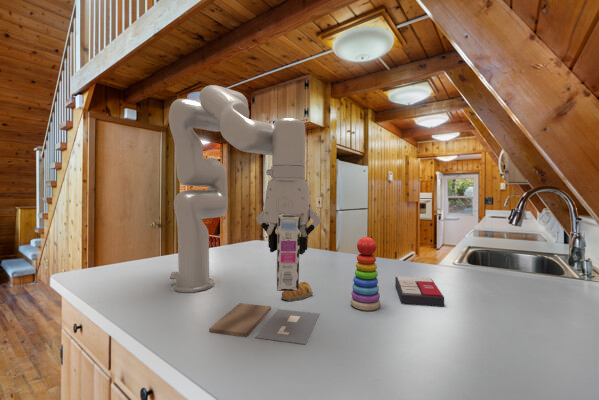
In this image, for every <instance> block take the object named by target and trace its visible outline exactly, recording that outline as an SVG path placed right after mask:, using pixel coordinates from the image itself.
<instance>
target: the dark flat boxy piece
mask: <svg viewBox="0 0 599 400" xmlns="http://www.w3.org/2000/svg"><path fill="white" fill-rule="evenodd" d="M394 281H395V282H394V284H395V285H394V287H395V290H396V293H397V295H398V300H400V301H399V302H400V305H407V306H408V305H409V306H410V305H411V306H421V307H422V306H423V307H424V306H425V307H438V308H439V307H440V308H444V307H445V296H444V295H443V293H442V292H441V290H440V289H439V288H438V286H437V285H436V283H435V282H434V280H433V279H432V278H431V277H421V276H420V277H419V276H399V275H398V276H395V280H394Z"/></svg>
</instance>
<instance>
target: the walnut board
mask: <svg viewBox="0 0 599 400" xmlns="http://www.w3.org/2000/svg"><path fill="white" fill-rule="evenodd" d="M271 310H272V306H271V305H261V304H252V303H241V302H240V303H238V304H236V306H235V307H233V308H232V309H231V310H229V311H228V312H226V314H224V315H223V317H221V318H220V319H219V320H217V321H216V322H215V323H214V324H213V325H212V326H210V327H209V329H208V332H209V333H213V334H219V335H220V334H221V335H228V336H237V337H242V338H243V337H245V338H247V337H248V336H249V335H250V334H251V333H252V331H253V330H254V329H255V328H256V327H257V326H258V325H259V324H260V323H261V321H262V320H263V319H264V318H265V317H266V315H267V314H268V313H269V312H270V311H271Z"/></svg>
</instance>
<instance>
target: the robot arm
mask: <svg viewBox="0 0 599 400" xmlns="http://www.w3.org/2000/svg"><path fill="white" fill-rule="evenodd" d="M248 102H249V101H248V99H247V97H246V96H245V95H244V94H243V93H242V92H239V91H237V90H233V89H230V88H227V87H223V86H219V85H216V84H209V85H207V86H205V87H203V88H202V89H201V90H200V92H199V95H198V100H196V99H191V98H177V99H176V100H175V99H174V100H173V102H172V103H171V105H170V108H169V111H168V124H169V129H170V133H171V135H172V139H173V142H174V147H175V148H174V149H175V150H174V151H175V164H176V165H175V167H176V176H177V180H178V182H179V184H181V185H182V186H186V187H207V190H206V189H189V190H183V191H181V192H179V193H177V194H176V196H175V197H174V199H173V209H174V213H175V218H176V226H177V252H178V253H177V257H178V258H177V259H178V261H177V262H178V263H177V264H178V267H177V268H178V271H172V272H171V274H170V275H169V279H170V280H175V282H174V284H173V289H174V291H176V292H178V293H196V292H201V291H206V290H208V289H210V288H212V287H214V286H215V280H214V279H213V278H210V247H209V246H210V244H209V243H210V240H209V239H210V236H209V235H210V234H209V233H210V232H209V230H208V227H207V226H206V224H205V223H204V221H203V220H204V219H215V218H220V217H223V216H225V214H226V213H227V211H228V208H229V206H228V205H229V196H228V183H227V181H228V180H227V172H226V168H225V166H224V164H223V162H221V161H220V160H218V159H214V158H206V157H204V149H203V148H204V147H203V142H202V140H201V139H200V137H199V135H198V134H197V133H196V132H195V130H194V129H199V130H204V131H205V130H206V131H210V132H218V133H219V132H220V134H221V136H222V138H223V139H224V140H225V141H227V143H229V144H230V145H231V146H233V147H234V148H235V149H236V150H238V151H241V152H245V153H251V154H260V155H265V156H266V155H267V156H271V157H272V158H271V160H272V161H271V163H272V164H271V168H270V169H266V172H265V173H266V176H270V178H271V180H268V181H267V185H266V190H265V191H266V192H265V200H264V209H263V210H262V211H261V212H260V213H258V215H257V216H255V220H256V222H257V223H258V224H259V225H260V226H261V228H262V229H263V230H264V231H265V232H266V234H267V236H268V240H267V241H268V248H269V252H270V253H274V252H275V251H276V252H277V229H278V215H279V214H292V215H299V216H300V247H299V255H301V256H302V255H304V254H305V253H306V251H308V243H309V242H308V238H309V237H308V236H309V234H311V233H312V232H313V231H314V230H315V229H316V228H317V227H318V226H319V225H320V224H321V223H322V221H323V220H322V218H321V217H320V216H319V215H318V214H317V213H316V212H315V211H314V210H313V209H312V208H311V194H310V186H309V182H308V180H306V179H305V178H306V125H305V122H304V121H302V120H301V119H298V118H294V117H293V118H292V117H285V118H284V117H283V118H278V119H276V120H275V121H274V122H273V124H272V123H268V122H264V121H259V120H255V119H250V118H249V117H250V110H249V103H248ZM311 219H312V222H311V224H310V225H309V226H307V223H308V222H310V221H311Z"/></svg>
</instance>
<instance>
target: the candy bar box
mask: <svg viewBox="0 0 599 400" xmlns="http://www.w3.org/2000/svg"><path fill="white" fill-rule="evenodd" d="M276 233H277V250H276V291H278V292H283V291H298V290H299V289H298V288H299V283H300V282H299V280H300V279H299V276H300V275H299V274H300V254H299V247H300V237H301V232H300V216H299V215H292V214H279V215H278V226H277V229H276Z"/></svg>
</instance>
